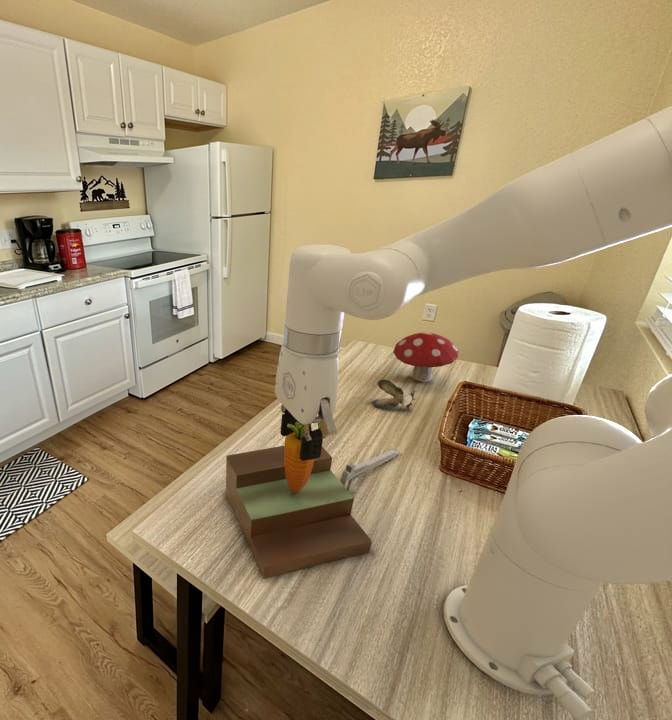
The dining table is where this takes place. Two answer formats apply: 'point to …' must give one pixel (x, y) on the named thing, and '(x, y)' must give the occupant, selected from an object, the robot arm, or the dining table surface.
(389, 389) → the grey brown forked piece
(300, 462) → the carrot
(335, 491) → the brown stepped stand
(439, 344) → the decorative mushroom
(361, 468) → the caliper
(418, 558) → the dining table surface
